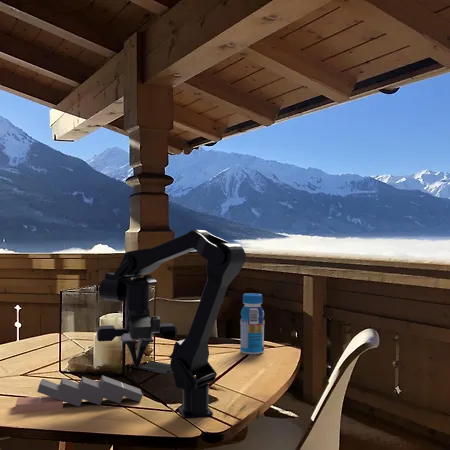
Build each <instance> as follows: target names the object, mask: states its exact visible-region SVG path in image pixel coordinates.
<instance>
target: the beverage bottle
mask: <svg viewBox="0 0 450 450" xmlns="http://www.w3.org/2000/svg"><path fill="white" fill-rule="evenodd" d="M242 304H244V306H242V309H241V311H240V316H241V318H240V320H239V323H240V347H239V350H240V352H241V353H242V354H245V355H261V354H263V353H264V351H265V347H264V346H265V343H264V342H265V339H264V338H265V324H266V323H265V318H264V317H265V311H264V308H263V307H262V306H261V305H262V304H263V294H261V293H255V292H254V293H253V292H251V293H250V292H249V293H247V292H246V293H243V295H242ZM260 353H261V354H260Z"/></svg>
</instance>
